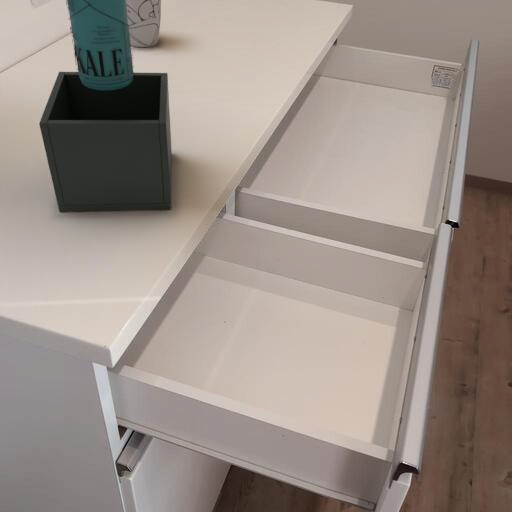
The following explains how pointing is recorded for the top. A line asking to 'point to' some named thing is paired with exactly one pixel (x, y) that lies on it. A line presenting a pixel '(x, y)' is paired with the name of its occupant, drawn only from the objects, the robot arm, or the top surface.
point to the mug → (144, 22)
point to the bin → (109, 144)
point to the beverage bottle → (101, 43)
